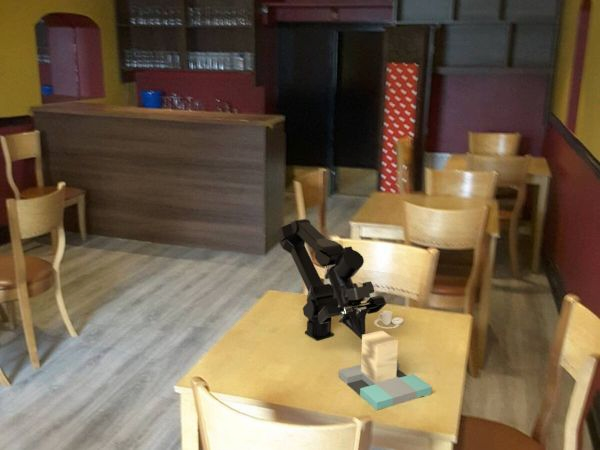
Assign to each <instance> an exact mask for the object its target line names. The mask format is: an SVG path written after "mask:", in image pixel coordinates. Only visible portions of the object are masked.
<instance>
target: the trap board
mask: <svg viewBox="0 0 600 450" xmlns="http://www.w3.org/2000/svg"><path fill="white" fill-rule="evenodd" d="M404 376H408V375H407V374H406V373H405V372H403V371H401V370H400V363H399V362H397V372H396V378H392V379H389V380H385V381H381V382H378V383H376V382H375V381H373V380H372V379H371V378H370V377H368V376H367V375H366V374H365V373H363V372H362V371H361V364H358V365H353V366H351V367H346V368H342V369H338V378H339V379H340V380H341V381H342V382H343V383H345V384H346V386H348V387H349V388H350V389H352V391H354V392H355V393H356V394H357V395H358V396H360V388H364V387H367V386H371V385H375V384H376V385H377V386H379V387H380V388H381V389H382V390H384V391H385V392H386V393H387V394H389V395H390V396H391V397H392V398H393V406H396V405H399V404H398V403H400V404H403V403H406V402H405V401H407V402H410V401H413V400H416V399H415V398H416V397H417V391H416V390H415V389H413V388H412V387H411V386H409V385H408V384H407V383H405V382H404V381H403V380H401V379H400V377H404ZM412 399H413V400H412ZM409 400H410V401H409ZM402 402H403V403H402ZM395 404H396V405H395Z"/></svg>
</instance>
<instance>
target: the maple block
mask: <svg viewBox="0 0 600 450" xmlns="http://www.w3.org/2000/svg"><path fill="white" fill-rule="evenodd" d="M398 347H399V340H398V339H395V338H394V337H392V335H390V334H388V333H387V332H385V331H384V330H378V331H373V332H369V333H365V334H363V335H362V340H361V357H360V359H361V361H360V362H361V363H360V365H361V371H362V372H363V373H365V374H366V375H367V376H368V377H370V378H371V379H372V380H373V381H375V382H376V383H378V382H381V381H385V380H389V379H392V378H396V372H397V363H398V351H399V349H398Z"/></svg>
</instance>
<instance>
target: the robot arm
mask: <svg viewBox="0 0 600 450" xmlns="http://www.w3.org/2000/svg"><path fill="white" fill-rule="evenodd" d="M275 235H276V239H277V240H276V241H277V242H278V243H279V245H280V246H281V248H282V249H283V251H286V252H288V253H289V254H290V255H291V257H292V259H293V262H294V264H295V265H296V268H297V270H298V272H299V275H300V277H301V279H302V281H303V283H304V285H305V287H306V289H307V296H306V304H304V306H303V307H302V311H303V315H304V316H305V317H306V318H307V319H308V320H307V321H306V330H305V331H304V334H305V335H307V336H308V337H310V338H312V339H314V340H316V341H320V340H324V339H328V338H330V337H333V336H335V333H334V332H332V318H333V317H338V316H339V317H340V319H339V321H338V322H339V323H340V324H343V325H345V326H346V327H347V328H348V329H350V330H351V331H352V332H353V333H354V334H355V335H356V337H358V338H359V339H360V340H361V341H362V335H363V334H366V316H367V314H368V315H370V314H375V313H379V312H380V311H381V310H382V309H383V308H384V307H385V306H386V305H387V301H386V298H385V297H384V296H383V295H375V296H372V297H371V294H374V293H375V288H374V285H373V283H372V281H370V280H369V281H365V282H363V283H362V286H358V284H357V283H356V282H355V283H354V282H353V279H352V278H353V277H354V276H355V275H356V274H357V273H358V271H359V270H360V269H361V268H362V267H363V265H364V263H365V260H364V257H363V255H362V254H361V253H360V252H358V251H357V250H355V249H354V248H353V247H352V246H346V247H343V245H342V244H341V243H339V242H337V241H336V240H332V239H328V238H326V236H324V235H323V234H322V233H321V232H320V231H319V230H318V229H317V228H316V227H315V226H314V225H312V223H311V221H310V220H309V219H307V218H302V219H294V220H293V221H291V222H290V223H287V224H286V225H282V226H280V227H279V228H278V230H277V231H276V233H275ZM305 244H306V245H308V246H309V247H310V248H311V249H312V250H313V252H314V258H315V260H316V261H317V263H318V264H319V266H320V267H321V268H322V267H323V268H325V266H331V265H334V266H332V267H331V268H330V269H327V273H326V275H325V279H329V280H330V283H331V285H330V284H324V281H322V279H321V277H320V275H319V272H318V271H317V269H316V267H315V264H314V262H313V260H312V258H311V256H310V254H309V252H308V249H307V247H306V245H305ZM365 298H367V299H368V298H369V299H368V300H366V301H365V302H364V300H365ZM338 305H339V306H340V307H338Z"/></svg>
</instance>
